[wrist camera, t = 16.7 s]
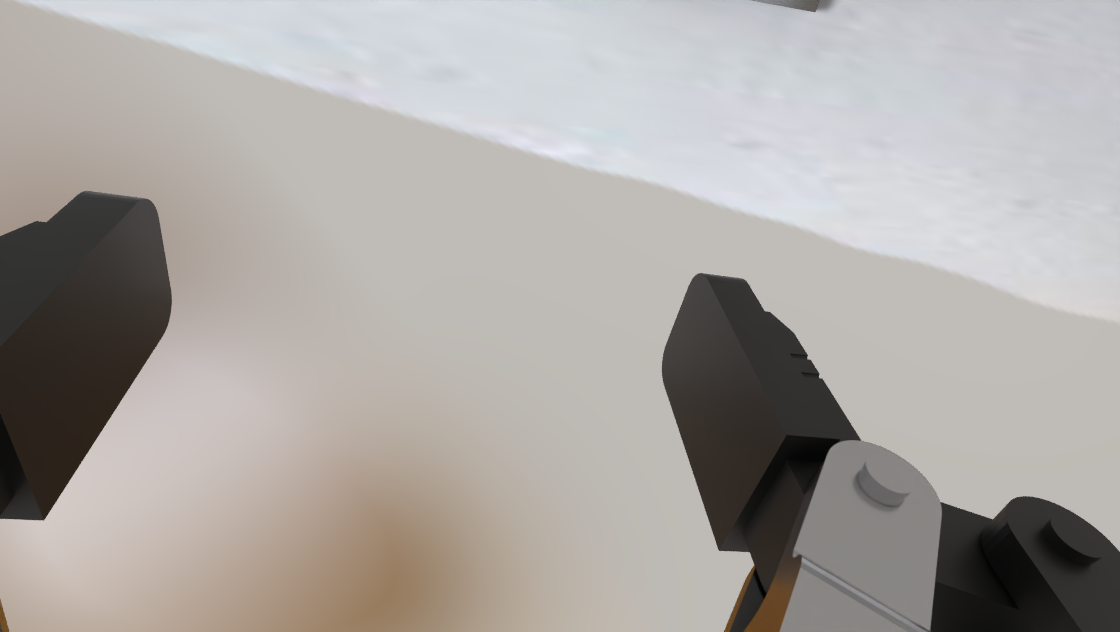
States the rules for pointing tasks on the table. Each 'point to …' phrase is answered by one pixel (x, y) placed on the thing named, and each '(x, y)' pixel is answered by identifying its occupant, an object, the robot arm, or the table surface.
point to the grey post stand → (795, 4)
